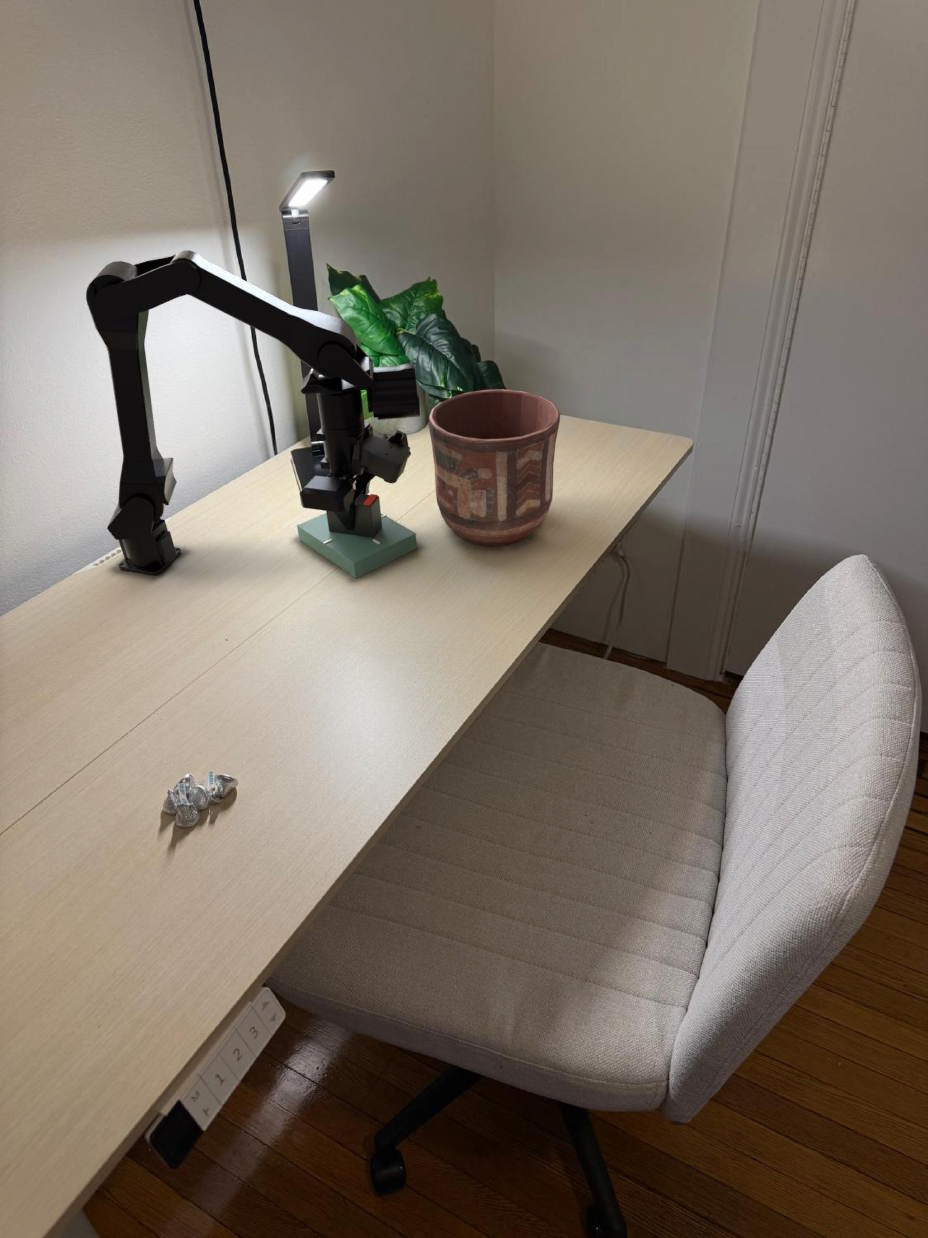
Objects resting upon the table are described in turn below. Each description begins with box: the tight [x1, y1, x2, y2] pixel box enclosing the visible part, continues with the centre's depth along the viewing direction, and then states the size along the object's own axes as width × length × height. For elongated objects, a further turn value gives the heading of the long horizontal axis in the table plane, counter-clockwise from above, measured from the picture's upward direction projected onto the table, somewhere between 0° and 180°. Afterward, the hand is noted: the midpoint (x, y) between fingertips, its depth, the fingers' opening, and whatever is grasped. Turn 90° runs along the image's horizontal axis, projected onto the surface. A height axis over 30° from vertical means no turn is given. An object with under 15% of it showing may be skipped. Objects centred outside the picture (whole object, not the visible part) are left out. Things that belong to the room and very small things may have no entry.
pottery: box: [428, 389, 561, 547], centre depth 117 cm, size 18×18×18 cm
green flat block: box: [296, 512, 418, 579], centre depth 119 cm, size 14×11×3 cm
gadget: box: [325, 493, 382, 538], centre depth 116 cm, size 7×3×5 cm, turn 73°
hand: (354, 523), depth 117 cm, fingers closed on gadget, 3 cm apart
